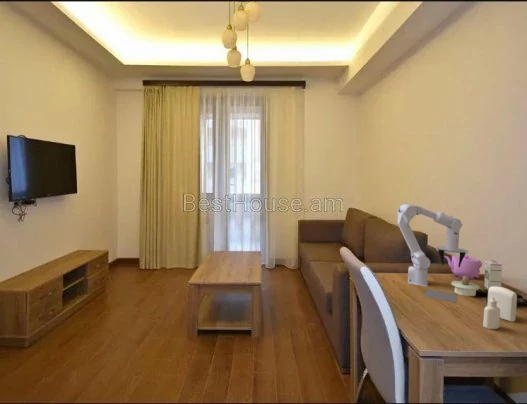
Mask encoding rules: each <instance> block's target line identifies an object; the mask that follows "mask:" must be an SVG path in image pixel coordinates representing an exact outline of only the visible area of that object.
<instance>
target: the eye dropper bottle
mask: <svg viewBox="0 0 527 404" xmlns="http://www.w3.org/2000/svg"><path fill="white" fill-rule="evenodd" d="M496 305H497V301H496V300H495V299H494V297H492V299H490V300H489V306H487V305H486V306H485V307H484V309H483V310H484V311H483V322H482V327H484V328H485V329H488V330H496V329H497V330H498V329H499V328H500V319H501V318H500V308H498V307H496Z"/></svg>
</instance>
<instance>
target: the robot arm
mask: <svg viewBox="0 0 527 404" xmlns="http://www.w3.org/2000/svg"><path fill="white" fill-rule="evenodd" d="M416 215H417V216H419V215H422V216H425V217H428V218H430V219H432V220H433V222H434V223H437V224H439V225H442V226H444V227H446V240H445V243H446V244H445V246H436V248H435V249H436V251H437V252H438V254H439V257H440V260H441V265H443V266H444V264H445V260H444V259H445V257H444V256H445V252H448V253H457V254H459V256H460V258H459V267H460V265H461V262H462V260H463V258H464V257H465V255H469V250H468V249H464V248H463V249H462V248H459V245H460V244H459V242H460V241H459V239H460V232H461V231H460V229H462V227H463V224H462V221H461V220H460V219H459V218H457V217H456V218H455V217H453V215H448V214H446V213H445V212H443V211H441V212H440V211H438V212H434V211H432V210H429V209H427V208H424V207H423V206H422V207H421V206H418V205H414V204H408V203H401V204H400V205H399V207H398V209H397V222H396V223H397V225H398V228H399V231H400V232H401V234H402V235H403V236H402V237H403V238H404V240H405V242H406V245H407V247H408V248H409V250H410V257H411V262H412V264H413V266H412V265H410V266H408V271H407V284H410V285H416V286H421V287H428V284H429V281H428V274H429V273H428V272H429V271H428V269H429V267H430V266H431V260H430V258H429V257H427V256H426V254H425V252H423V250H422V249H421V247H420V245H419V243H418V239H416V236H415V234H414V232H413V230H412V228H411V225H410V222H411V221H412V219H413V218H415V217H416Z"/></svg>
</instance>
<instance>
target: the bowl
mask: <svg viewBox="0 0 527 404" xmlns="http://www.w3.org/2000/svg"><path fill="white" fill-rule="evenodd" d="M454 294H457V295H459V296H465V297H466V296H467V297H475V296H476V294H477V290H465V289H460V288H457V287H454Z"/></svg>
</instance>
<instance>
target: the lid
mask: <svg viewBox="0 0 527 404" xmlns="http://www.w3.org/2000/svg"><path fill="white" fill-rule="evenodd" d="M450 285H451V286H453V288H455V287H457V288H460V289H465V290H476V291H479V290H480V287H481V286H480V285H479V284H477V283H474V282H471V281H470V279H469V276H462V278H461V280H453V281H451V283H450Z"/></svg>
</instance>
